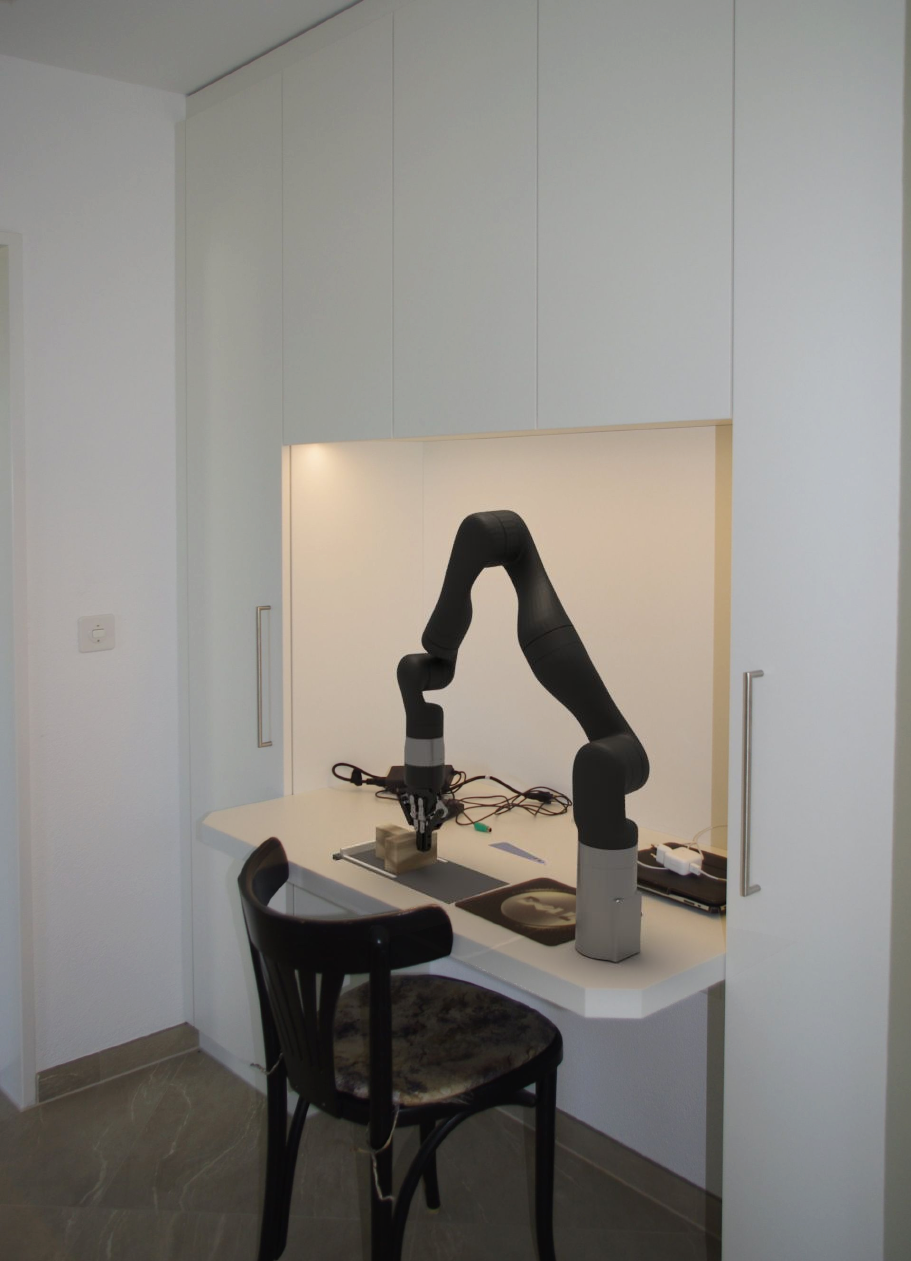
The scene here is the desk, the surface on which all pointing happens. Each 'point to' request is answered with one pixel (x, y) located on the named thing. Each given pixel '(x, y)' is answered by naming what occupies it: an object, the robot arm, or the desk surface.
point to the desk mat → (425, 874)
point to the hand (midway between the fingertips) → (423, 850)
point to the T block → (402, 849)
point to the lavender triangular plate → (516, 851)
